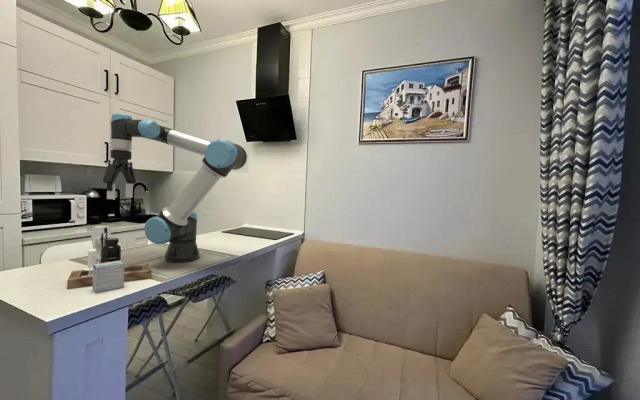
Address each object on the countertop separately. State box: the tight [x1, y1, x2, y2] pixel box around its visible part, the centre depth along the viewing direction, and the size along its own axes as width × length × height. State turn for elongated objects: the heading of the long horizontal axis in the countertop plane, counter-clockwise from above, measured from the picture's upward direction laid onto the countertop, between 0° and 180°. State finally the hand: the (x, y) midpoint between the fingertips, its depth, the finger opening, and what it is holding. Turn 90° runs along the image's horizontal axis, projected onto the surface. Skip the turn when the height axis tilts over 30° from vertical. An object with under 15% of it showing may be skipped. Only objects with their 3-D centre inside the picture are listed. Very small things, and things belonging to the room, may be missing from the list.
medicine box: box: [92, 261, 125, 294], centre depth 95 cm, size 8×4×9 cm, turn 141°
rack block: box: [66, 263, 152, 290], centre depth 104 cm, size 24×11×3 cm, turn 125°
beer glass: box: [90, 225, 112, 261], centre depth 128 cm, size 7×7×15 cm
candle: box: [83, 247, 98, 276], centre depth 100 cm, size 5×5×12 cm
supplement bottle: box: [99, 237, 122, 264], centre depth 117 cm, size 7×7×12 cm
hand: (120, 198), depth 124 cm, fingers open, 13 cm apart
